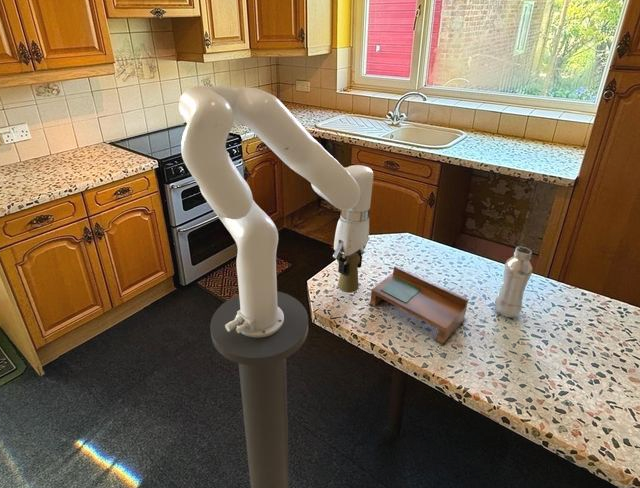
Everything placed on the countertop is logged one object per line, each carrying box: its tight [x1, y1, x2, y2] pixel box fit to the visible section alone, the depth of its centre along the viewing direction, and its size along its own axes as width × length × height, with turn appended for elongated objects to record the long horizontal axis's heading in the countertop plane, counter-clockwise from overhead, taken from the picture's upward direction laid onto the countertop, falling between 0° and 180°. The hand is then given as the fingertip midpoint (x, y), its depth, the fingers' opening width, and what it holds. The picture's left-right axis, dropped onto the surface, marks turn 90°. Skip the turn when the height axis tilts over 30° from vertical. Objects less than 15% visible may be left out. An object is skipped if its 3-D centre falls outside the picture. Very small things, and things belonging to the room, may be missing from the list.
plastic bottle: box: [494, 246, 533, 318], centre depth 105 cm, size 6×7×20 cm
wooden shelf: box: [369, 265, 470, 345], centre depth 108 cm, size 12×22×7 cm, turn 46°
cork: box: [337, 252, 360, 294], centre depth 113 cm, size 6×6×11 cm
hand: (349, 269), depth 113 cm, fingers closed on cork, 5 cm apart
